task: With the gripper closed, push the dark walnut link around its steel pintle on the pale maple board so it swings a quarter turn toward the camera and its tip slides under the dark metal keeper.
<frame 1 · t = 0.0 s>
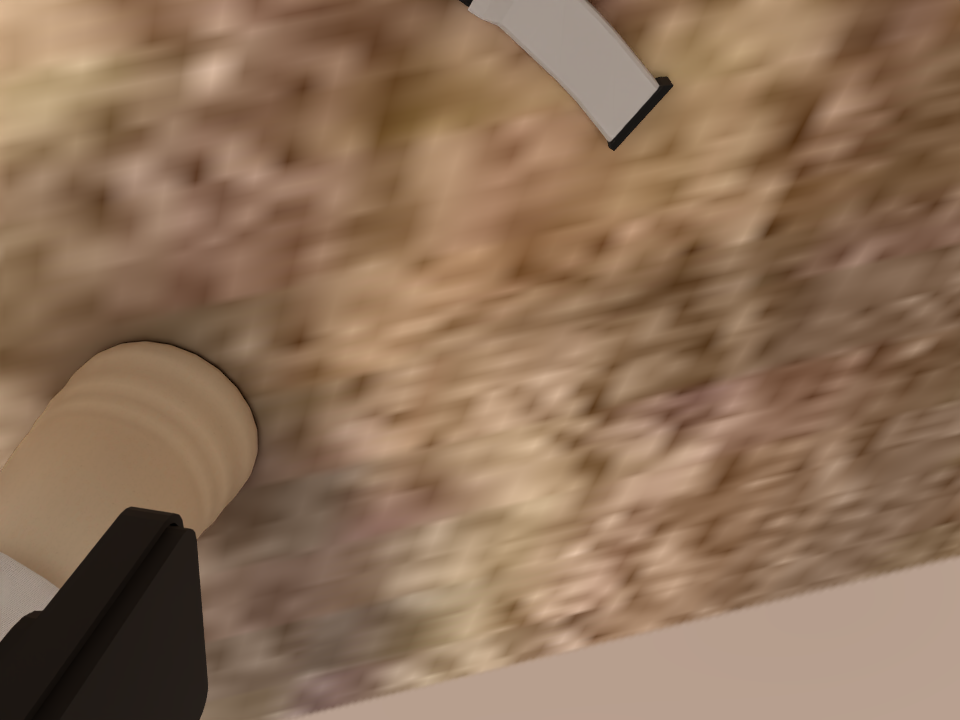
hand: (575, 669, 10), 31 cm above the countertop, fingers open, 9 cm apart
lamp: (169, 422, 48), on the countertop
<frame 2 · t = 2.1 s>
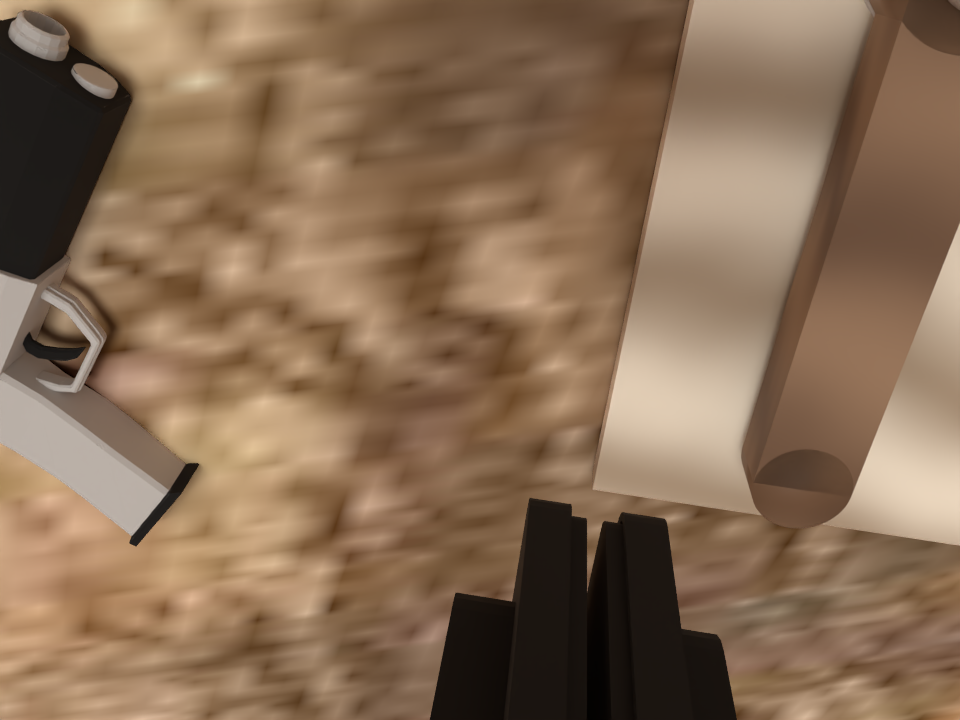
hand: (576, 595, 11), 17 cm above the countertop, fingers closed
toy gun: (111, 287, 30), on the countertop
walnut link: (877, 234, 23), point 2 cm above the countertop, hinge at 0.0°
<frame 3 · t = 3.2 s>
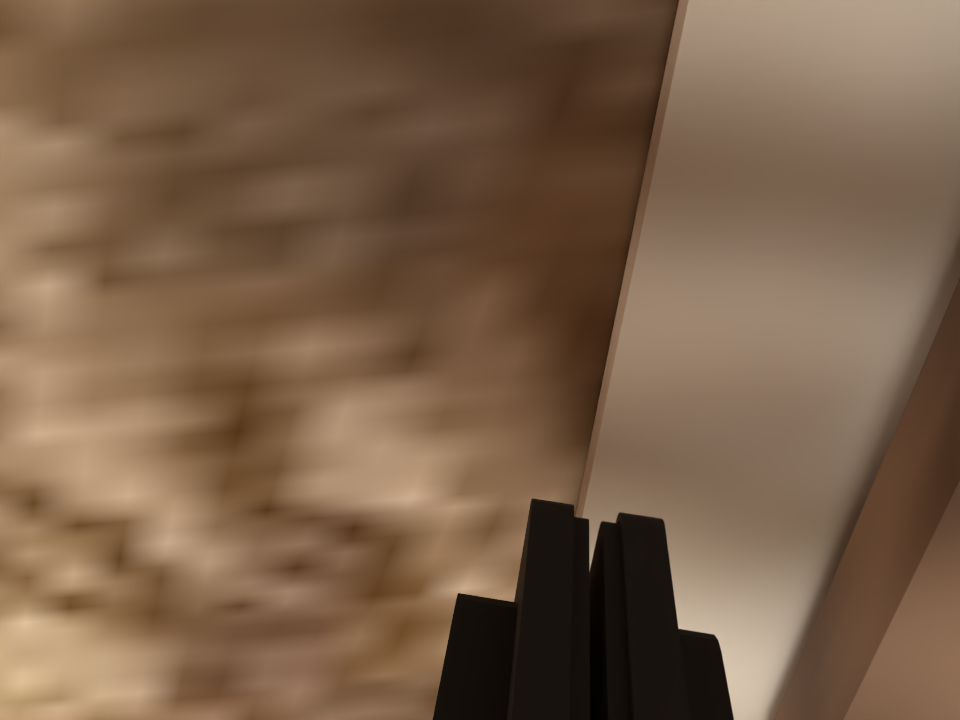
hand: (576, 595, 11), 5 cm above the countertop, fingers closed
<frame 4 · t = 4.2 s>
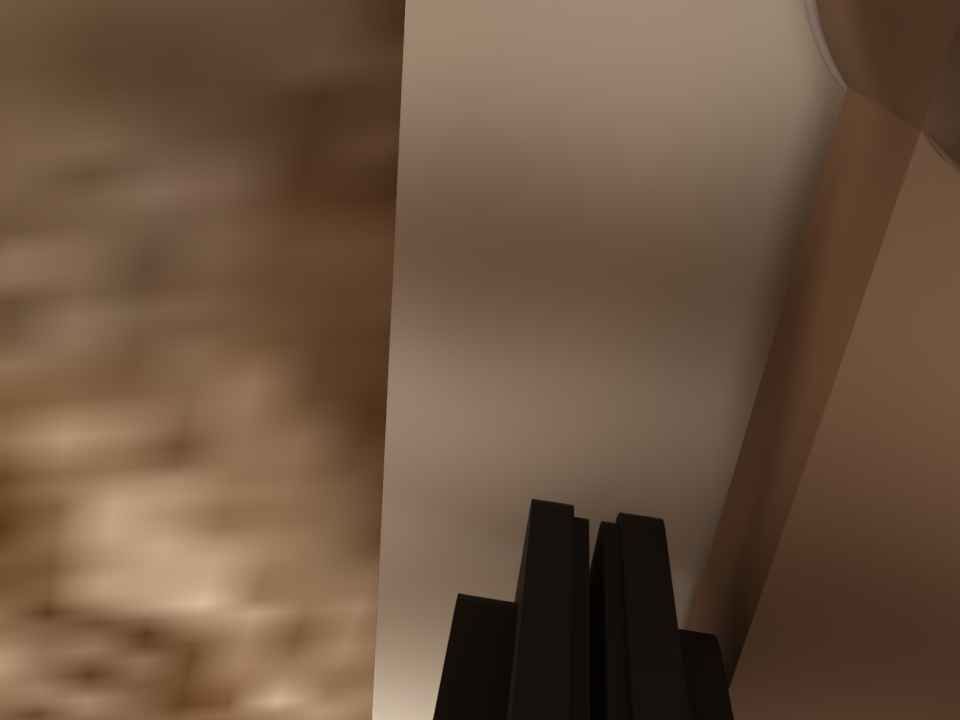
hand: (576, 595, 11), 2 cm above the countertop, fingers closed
walnut link: (861, 592, 10), point 2 cm above the countertop, hinge at 0.0°, touching gripper
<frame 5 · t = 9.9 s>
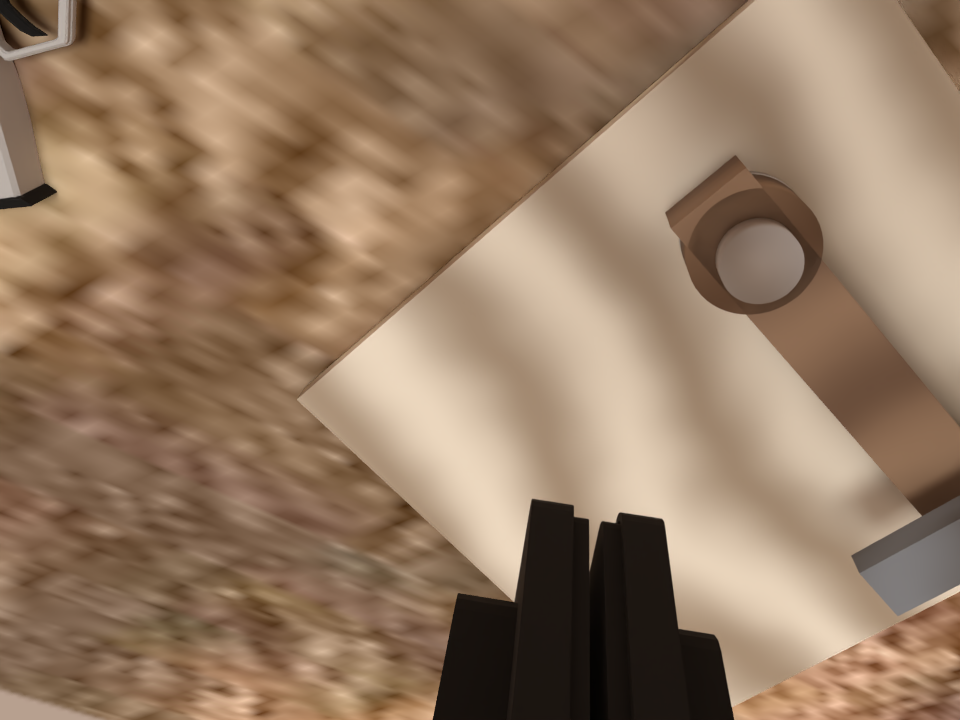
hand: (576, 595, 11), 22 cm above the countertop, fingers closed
toy gun: (105, 7, 30), on the countertop
walnut link: (865, 382, 30), point 2 cm above the countertop, hinge at 90.9°
hinge board: (736, 224, 31), on the countertop
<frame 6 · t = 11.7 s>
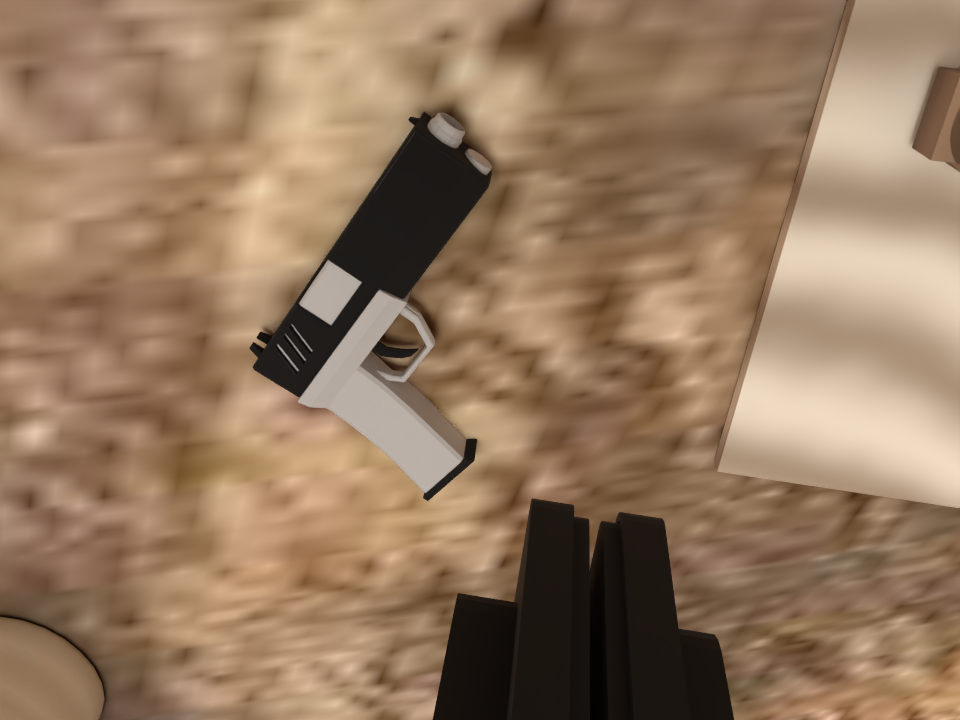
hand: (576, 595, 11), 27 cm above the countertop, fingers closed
toy gun: (434, 304, 40), on the countertop
lamp: (28, 672, 55), on the countertop
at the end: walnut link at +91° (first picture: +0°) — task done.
